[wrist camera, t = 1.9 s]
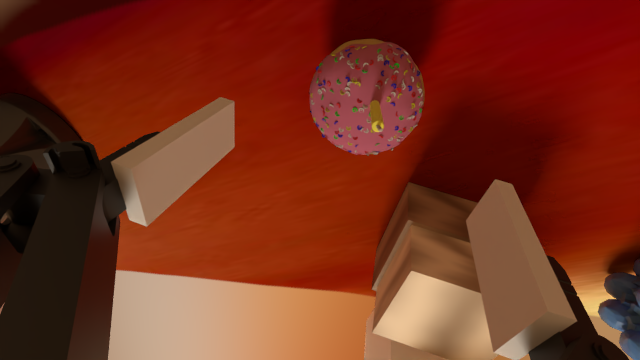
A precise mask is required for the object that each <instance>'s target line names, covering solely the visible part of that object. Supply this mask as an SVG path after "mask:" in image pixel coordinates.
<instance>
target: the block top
mask: <svg viewBox="0 0 640 360" xmlns="http://www.w3.org/2000/svg"><path fill="white" fill-rule="evenodd" d="M372 333H374V334H377V335H380V336H383V337H386V338H389V339H391V340H394V341H397V342H400V343H403V344H405V345H408V346H411V347H414V348H417V349H420V350H422V351H425V352H428V353H431V354H434V355H437V356H439V357H442V358H445V359H448V360H493V359H494V358H495V357H497V356H498V355H499V354H496V353H494V352H493V348H492V343H491V339H490V334H489V329H488V324H487V319H486V315H485V310H484V305H483V300H482V295H481V291H480V286H479V281H478V276H477V271H476V267H475V262H474V257H473V252H472V248H471V243H469V242H465V241H462V240H459V239H456V238H453V237H449V236H446V235H443V234H440V233H437V232H433V231H430V230H427V229H424V228H421V227H417V226H414V225H411V226H410V228H409V229H408V231H407V233H406V235H405V237H404V239H403V240H402V242H401V244H400V246H399V248H398V250H397V251H396V253H395V255H394V257H393V259H392V261H391V263H390V264H389V266H388V268H387V270H386V272H385V274H384V275H383V277H382V279H381V281H380V283H379V285H378V286H377V291H376V301H375V310H374V320H373V329H372Z"/></svg>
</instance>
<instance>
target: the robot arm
mask: <svg viewBox="0 0 640 360" xmlns="http://www.w3.org/2000/svg"><path fill="white" fill-rule="evenodd" d="M233 148H234V101H232V100H228V99H225V98H221V97H220V98H218V99H217V100H215V101H213V102H212V103H210V104H208V105H207V106H205V107H203V108H202V109H200V110H198V111H196V112H195V113H193V114H191V115H190V116H188V117H186V118H185V119H183V120H181V121H179V122H178V123H176V124H174V125H173V126H171V127H169V128H168V129H166V130H164V131H163V132H154V133H151V134H147V135H144V136H142V137H141V138H139V139H137V140H135V142H132V143H130V144H128V145H126V147H123V148H121V149H119V150H118V151H116V152H114V153H112V154H111V155H109V156H107V157H105V158H103V159H102V160H100V161H99V159H98V156H97V153H96V150H95V148H94V145H92V144H91V143H89V142H85V141H81V140H80V138H79V137H78V136H77V135H76V133H75V132H74V131H73V130H72V129H71V128H70V127H69V126H68V125H67V124H66V123H65V122H64V121H63V120H62V119H61V118H60V117H59V116H58V115H56V114H55V113H54V112H52V111H51V110H50V109H48V108H47V107H45V106H44V105H42V104H41V103H39V102H37V101H35V100H33V99H31V98H29V97H26V96H23V95H20V94H15V93H6V94H2V95H0V308H1V307H2V305H3V304H4V302H5V304H4V306H3V309H2V311H1V314H0V360H108V350H109V340H110V328H111V317H112V307H113V295H114V285H115V273H116V262H117V251H118V240H119V229H120V219H119V216H118V215H119V214H121V213H122V212H123V211H124V210H127V214H128V217H129V220H131V221H133V222H136V223H139V224H142V225H144V226H148V225H149V224H150V223H151V222H153V221H154V220H155V219H156V218H157V217H158V216H159V215H160V214H161V213H162V212H164V211H165V210H166V209H167V208H168V207H169V206H170V205H171V204H172V203H173V202H175V201H176V200H177V199H178V198H179V197H180V196H181V195H182V194H183V193H184V192H186V191H187V190H188V189H189V188H190V187H191V186H192V185H193V184H194V183H195V182H197V181H198V180H199V179H200V178H201V177H202V176H203V175H204V174H205V173H206V172H208V171H209V170H210V169H211V168H212V167H213V166H214V165H215V164H216V163H217V162H219V161H220V160H221V159H222V158H223V157H224V156H225V155H226V154H227V153H228V152H230V151H231V150H232V149H233ZM466 224H467V228H468V233H469V238H470V243H471V248H472V252H473V257H474V262H475V267H476V271H477V276H478V281H479V286H480V291H481V295H482V300H483V305H484V310H485V315H486V319H487V324H488V329H489V334H490V339H491V343H492V348H493V352H494V353H496V354H499V355H502V356H505V357H507V358H510V359H513V360H519V359H521V358H522V357H524V356H525V355H527V354H528V353H529V356H530V359H531V360H629V359H628V357H627V356H626V355H625V354H624V353H623V352H622V351H621V350H620V349H619V348H618V347H617V346H616V345H615V344H613V343H612V342H610V341H609V340H607V339H606V338H604V337H602V336H600V335H598V333H597V332H596V330H595V328H594V326H593V324H592V322H591V320H590V318H589V316H588V314H587V312H586V310H585V308H584V306H583V304H582V302H581V300H580V299H579V297H578V296H577V293H576V291H575V289H574V287H573V286H572V285H571V284H572V283H571V281H570V279H569V277H568V275H567V273H566V271H565V270H564V269H563V268H562V267H561V265H560V264H559V263H558V262H557V261H556V260H555V259H554V258H553V257H550V256H547V255H546V254H545V252H544V250H543V248H542V246H541V244H540V242H539V240H538V238H537V235H536V233H535V231H534V229H533V227H532V225H531V223H530V221H529V219H528V216H527V214H526V212H525V210H524V208H523V206H522V204H521V202H520V200H519V198H518V195H517V193H516V191H515V189H514V187H513V185H512V184H510V183H507V182H503V181H500V180H497V179H495V180H494V181H493V183H492V184H491V186H490V187H489V188H488V190H487V191H486V193H485V194H484V196H483V197H482V198H481V200H480V201H479V203H478V204H477V205H476V207H475V208H474V210H473V211H472V213H471V214H470V215H469V217H468V218H467V220H466Z"/></svg>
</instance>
